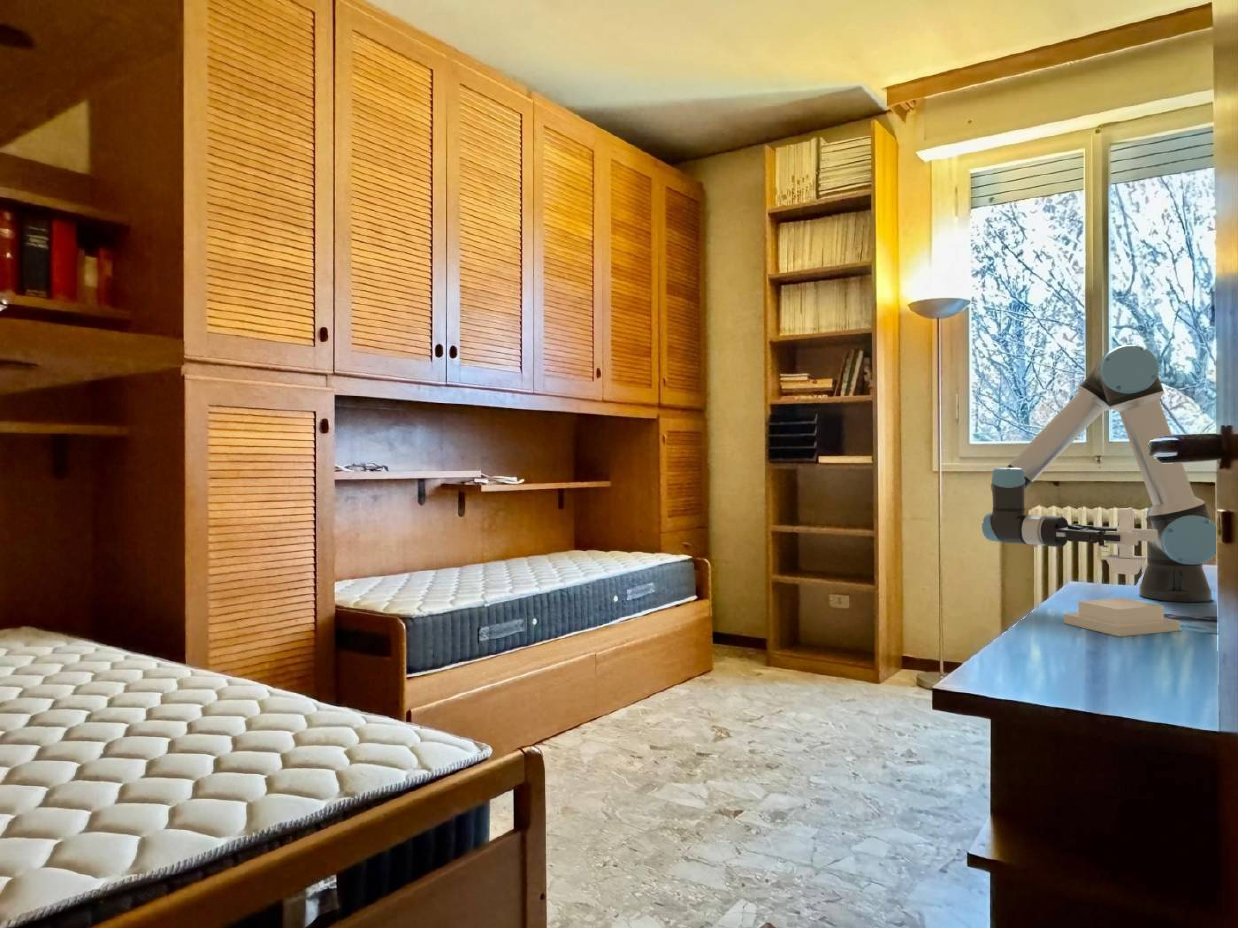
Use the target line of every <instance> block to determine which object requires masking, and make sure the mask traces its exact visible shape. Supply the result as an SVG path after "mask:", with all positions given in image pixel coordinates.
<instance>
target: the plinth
mask: <svg viewBox="0 0 1238 928" xmlns="http://www.w3.org/2000/svg"><path fill="white" fill-rule="evenodd" d="M1164 611H1165V607H1164V605H1162V604H1158V603H1152V602H1146V601H1141V600H1136V599H1131V598H1127V597H1126V598H1125V597H1117V598H1116V597H1115V598H1101V599H1091V600H1089V599H1088V600H1080V601H1078V612H1073V613H1064V614H1063V623H1064V624H1066V625H1070V626H1075V627H1079V628H1083V629H1087V630H1090V631H1095V632H1100V633H1103V634H1107V635H1112V636H1115V637H1127V636H1137V635H1147V634H1158V633H1168V632H1179V631H1181V620H1177V619H1172V618H1168V617H1165V612H1164Z"/></svg>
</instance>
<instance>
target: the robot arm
mask: <svg viewBox="0 0 1238 928" xmlns="http://www.w3.org/2000/svg"><path fill="white" fill-rule="evenodd" d="M1159 366H1160V365H1159V362H1158V359H1157V357H1156V356H1155V355H1154V353H1153V352H1152V351H1151V350H1149V349H1148V348H1146V347H1143V346H1140V345H1137V344H1135V345H1134V344H1124V345H1122V346H1121V345H1120V346H1117V347H1115V348H1113V349H1111V350H1109V351H1107V353H1105V354H1104V355H1103V356H1102V357H1101V358H1100V359H1099V360H1098V361H1097V363H1096V365H1094V367H1093V369H1092V370H1091V372H1090V373H1089V374H1088V375H1087V377H1086V378H1085V379H1084V380H1083V381H1082V383H1080V384H1079V386H1078V387H1077V393H1076V395H1074V396H1073V397H1072V399H1070V401H1069V402H1068V403H1067V404H1066V405H1065V406H1064V407H1063V408H1062V409H1061V410H1060V411H1059V412H1058V413H1057V414H1056V415H1055V416H1054V417H1053V419H1051V420H1050V422H1048V424H1046V425H1045V426H1044V428H1043V429H1041V430H1040V432H1038V434H1037V435H1036V436H1035V437H1034V438H1033V439H1032V440H1031V441H1030V442H1029V443H1028V444H1027V445H1026V446H1025V447H1024V448H1023V450H1021V451H1020V452H1019V453H1018V455H1016V456H1015V457H1014V459H1013V460H1011V462H1010V463H1009V464H1008V465H1007V466H1006V467H996V468H994V469H993V470H992V476H991V484H990V489H991V490H990V491H991V492H992V509H991V510H992V512H989V513H987V514H985V515H984V517H983V519H982V520H983V522H982V523H981V531H982V534H983V536H984V538H985V539H986V540H988V541H991V542H997V543H1002V544H1017V545H1018V544H1019V545H1033V546H1032V547H1034V548H1038V546H1047V547H1054V548H1063V547H1064V546H1066V545H1067V543H1068V542H1082V543H1092V544H1097V543H1098V546H1100V547H1104V546H1105V544H1113V545H1115V544H1116V545H1117V544H1125V545H1132V546H1139V542H1146V568H1145V571H1144V573H1143V576H1142V579H1141V582H1140V584H1139V588H1138V589H1139V591H1138V592H1139V595H1140V597H1143V598H1148V599H1153V600H1157V601H1158V600H1159V601H1165V602H1166V601H1167V602H1181V603H1199V602H1201V603H1202V602H1209V601H1211V600H1212V598H1213V595H1212V589H1211V587H1210V585H1209V582H1208V579H1207V577H1206V574H1205V571H1204V569H1203V568H1204V567H1203V566H1204V565H1203V564H1204V563H1206V562H1209V561H1210V560H1212V559H1214V558H1215V556H1217V554H1216V525H1217V524H1216V523H1215V522H1214V521H1213V520H1212V519H1211V516H1210V512H1209V510H1208V507H1207V505H1206V501H1204V500H1202V499H1201V498H1198V497H1197V496H1195V494H1194V492H1193V489H1192V486H1191V482H1190V481H1189V478H1188V475H1187V471H1186V469H1185V467H1184V465H1183V462H1182V463H1173V464H1162V463H1160V462H1158V461H1157V460H1156V459H1154V457H1151V456H1150V455H1149V453H1148V443H1149V441H1150V440H1153V439H1155V438H1159V437H1164V436H1172V437H1173V435H1172V431H1171V429H1170V426H1169V423H1168V421H1167V418H1166V415H1165V412H1164V409H1163V407H1162V404H1161V402H1160V400H1161V398H1162V396H1163V395H1164V393H1165V390H1164V388H1163V386H1162V382H1161V380H1160V377H1159V372H1160V368H1159ZM1111 410H1113V411H1114V410H1115V411H1116V412H1117V413H1119V416H1120V418H1121V422H1122V424H1123V427H1124V429H1125V433H1126V435H1127V437H1128V441H1129V443H1130V446H1131V449H1132V452H1133V455H1134V457H1135V460H1136V463H1137V465H1138V469H1139V471H1140V474H1141V476H1142V480H1143V482H1144V484H1145V488H1146V490H1147V493H1148V496H1149V499H1150V501H1151V504H1152V505H1151V507H1149V508H1148V509H1147V511H1146V517H1145V522H1146V529H1145V528H1134V530H1133V532H1132V533H1131V532H1117V528H1118V526H1116V527H1115V526H1097V525H1096V526H1094V525H1089V524H1088V525H1087V524H1086V525H1085V524H1079V523H1073V524H1069V522H1068V521H1067V519H1066V518H1065V517H1064V516H1061V515H1060V516H1056V515H1042V514H1039V515H1038V514H1025V512H1026V508H1025V504H1026V503H1025V498H1026V497H1025V494H1026V492H1025V491H1026V490H1027V489H1028V488H1029V487H1030V486H1031V485H1032V483H1033V482H1034V481H1035V480H1036V479H1037V478H1038V477H1039V476H1040V475H1042V473H1043V472H1044V471H1045V470H1047V468H1049V466H1050V465H1051V464H1052V463H1054V461H1055V460H1057V458H1058V457H1060V455H1061V454H1062V453H1063V452H1064V451H1065V450H1067V448H1068V447H1069V446H1070V445H1071V444H1072V443H1073V442H1075V440H1076V439H1077V438H1078V437H1079V436H1080V435H1082V433H1083V432H1084V431H1085V430H1086V429H1087V428H1088V427H1089V426H1090V425H1091V424H1092V423H1093V422H1094V421H1095V420H1096V419H1097V418H1098V417H1099V416H1100V415H1101V414H1102V413H1103V412H1106V411H1111Z"/></svg>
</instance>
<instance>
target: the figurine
mask: <svg viewBox="0 0 1238 928" xmlns="http://www.w3.org/2000/svg"><path fill="white" fill-rule="evenodd" d="M1134 515H1135V513H1134V510H1133V507H1127V508H1125V507H1121V508H1117V517H1118V526H1117V527H1118V528H1117V532H1131V533H1132V532H1133V530H1134V529H1135V516H1134ZM1116 546H1117V547H1118V552H1119V553H1118V554H1109V555H1107V556H1106V557H1105V558H1104V559H1105V560H1106V562H1107V564H1108V566H1109V567H1110V569H1111V571H1112V574H1117V575H1119V574H1120V575H1131V576H1132V575H1134V576H1137V575H1138V574H1139V573H1140V570H1141V569H1142V568H1143V567H1142V566H1143V565H1144V563H1145V561H1146V560H1147V555H1146V556H1143V555H1133V549H1134V548H1133V545H1125V544H1116Z"/></svg>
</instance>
